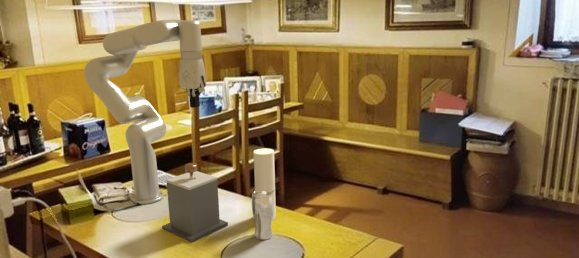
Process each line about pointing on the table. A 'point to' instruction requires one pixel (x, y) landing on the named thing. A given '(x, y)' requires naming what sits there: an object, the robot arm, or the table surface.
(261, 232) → the beer glass
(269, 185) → the cylindrical container
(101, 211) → the table surface
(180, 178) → the block
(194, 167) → the plunger
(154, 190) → the robot arm
